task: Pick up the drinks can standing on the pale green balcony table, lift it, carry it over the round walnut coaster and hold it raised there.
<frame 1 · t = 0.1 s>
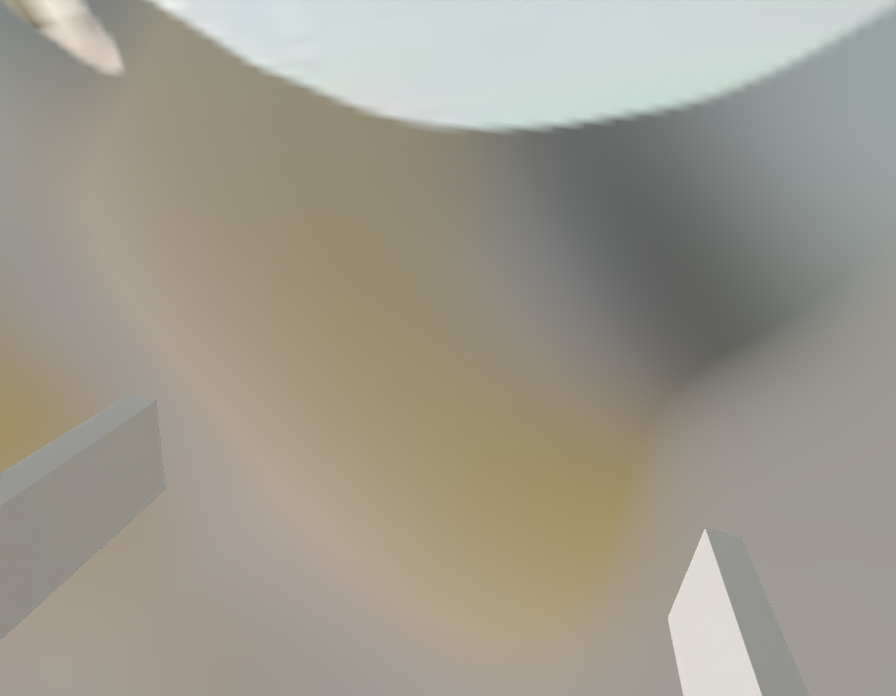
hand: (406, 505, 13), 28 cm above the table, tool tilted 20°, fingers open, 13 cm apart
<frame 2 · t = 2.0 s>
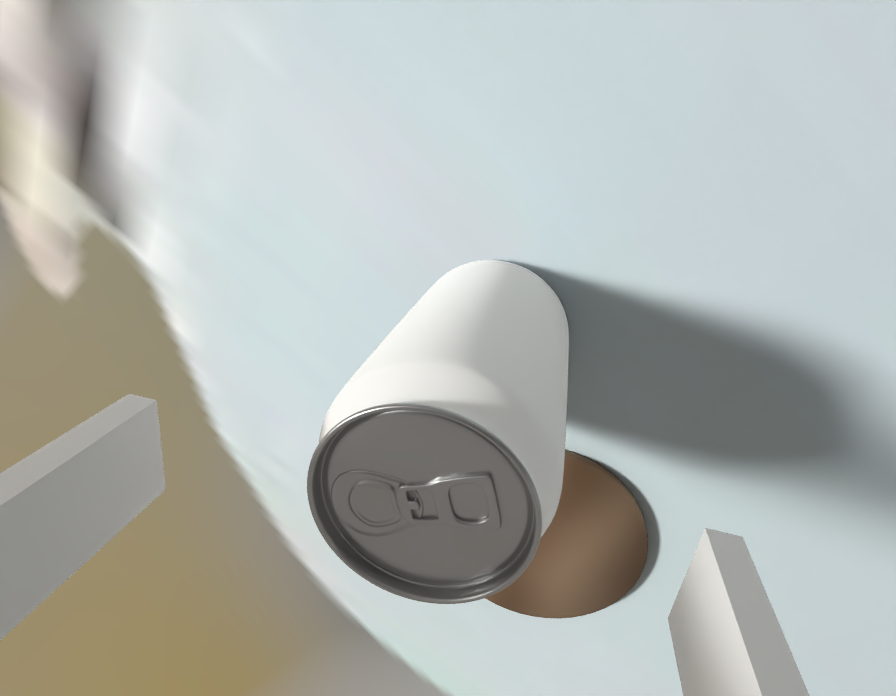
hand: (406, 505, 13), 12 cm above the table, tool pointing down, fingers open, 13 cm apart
coaster: (539, 532, 27), on the table
can: (493, 329, 23), on the table
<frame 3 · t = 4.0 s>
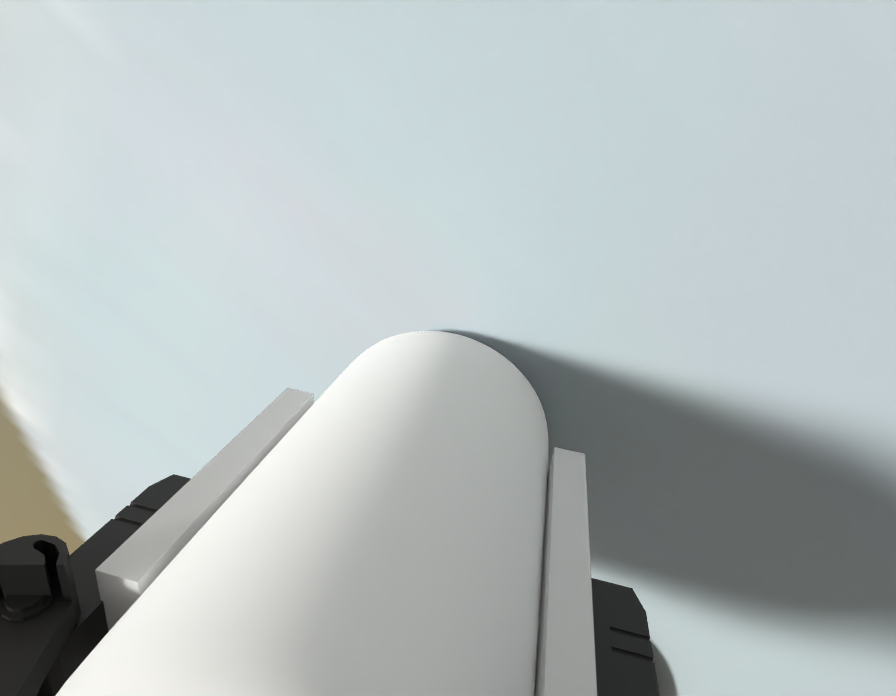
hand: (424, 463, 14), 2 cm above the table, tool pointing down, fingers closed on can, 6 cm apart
can: (441, 422, 16), on the table, touching gripper
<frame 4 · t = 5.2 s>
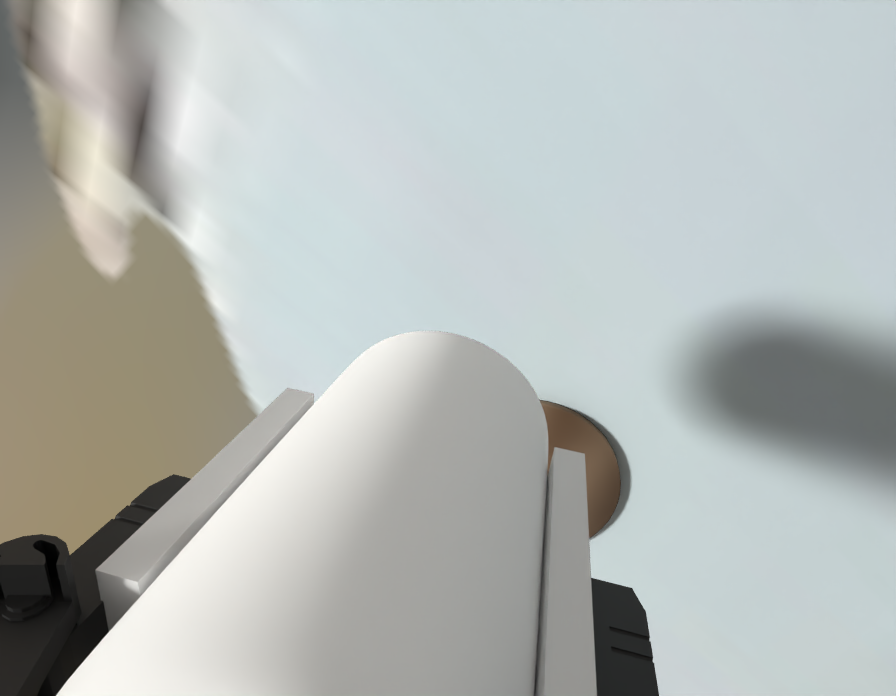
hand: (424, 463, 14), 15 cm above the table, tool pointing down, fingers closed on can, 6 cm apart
coaster: (529, 476, 31), on the table
can: (441, 422, 16), point 12 cm above the table, touching gripper
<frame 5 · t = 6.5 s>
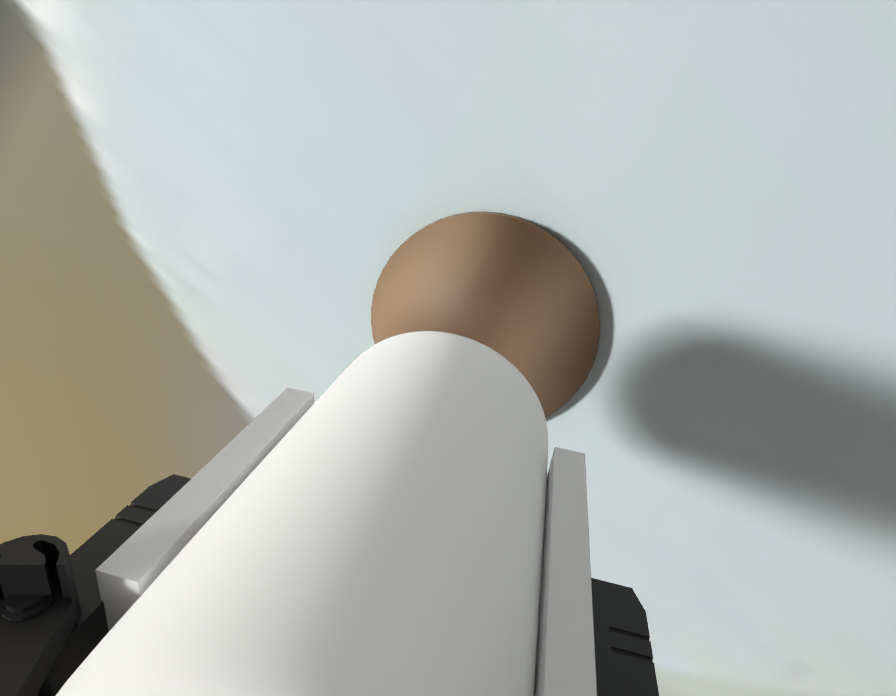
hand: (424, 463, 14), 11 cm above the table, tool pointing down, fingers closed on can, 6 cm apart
coaster: (482, 326, 24), on the table
can: (441, 422, 16), point 9 cm above the table, touching gripper
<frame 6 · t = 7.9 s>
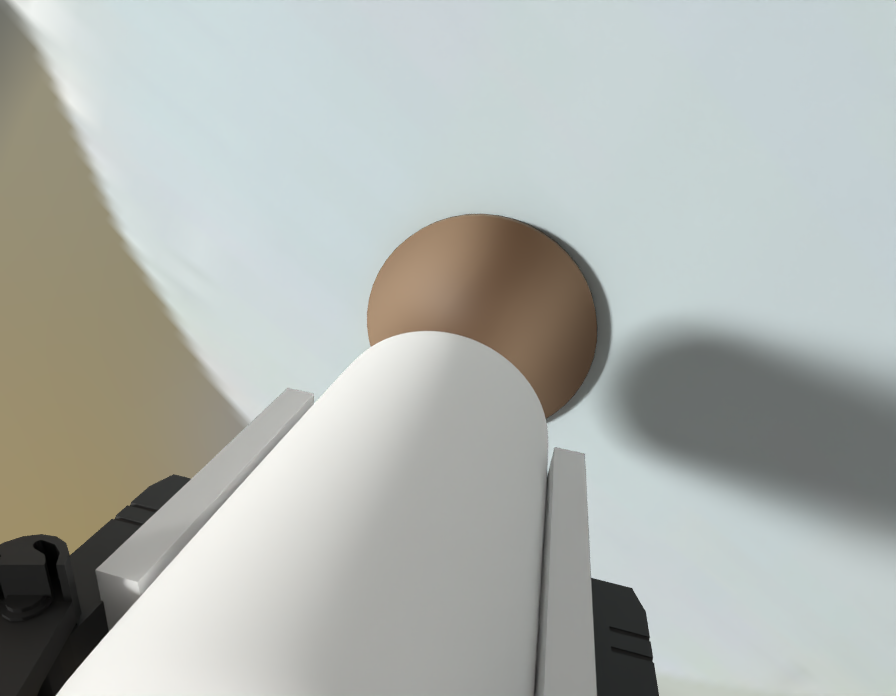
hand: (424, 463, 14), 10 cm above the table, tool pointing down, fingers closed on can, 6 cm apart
coaster: (479, 328, 24), on the table
can: (441, 422, 16), point 8 cm above the table, touching gripper
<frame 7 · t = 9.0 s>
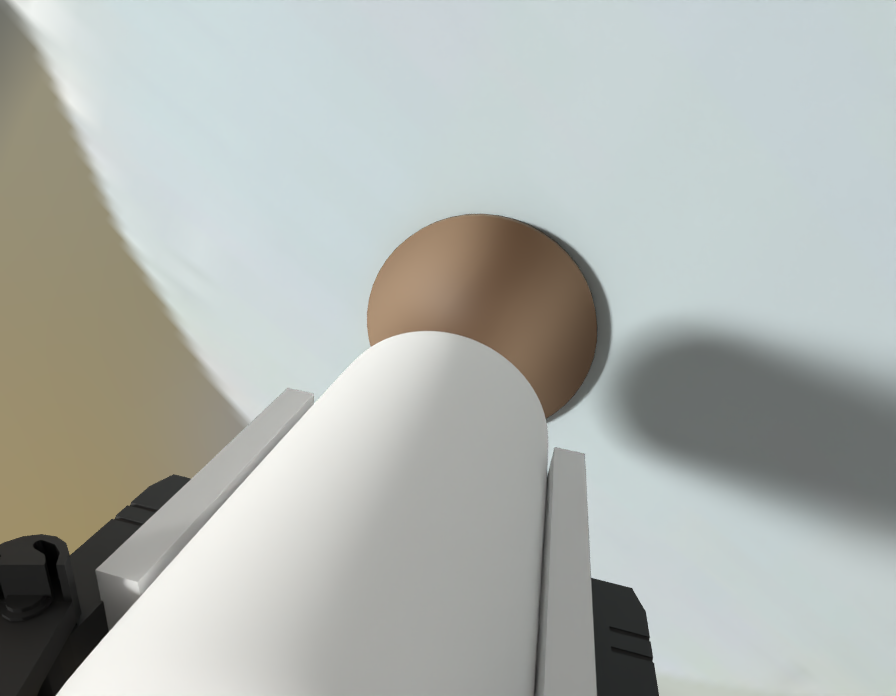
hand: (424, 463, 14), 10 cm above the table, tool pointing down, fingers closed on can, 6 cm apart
coaster: (479, 328, 24), on the table
can: (441, 422, 16), point 8 cm above the table, touching gripper
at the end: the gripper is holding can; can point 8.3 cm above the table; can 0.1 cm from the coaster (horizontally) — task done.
